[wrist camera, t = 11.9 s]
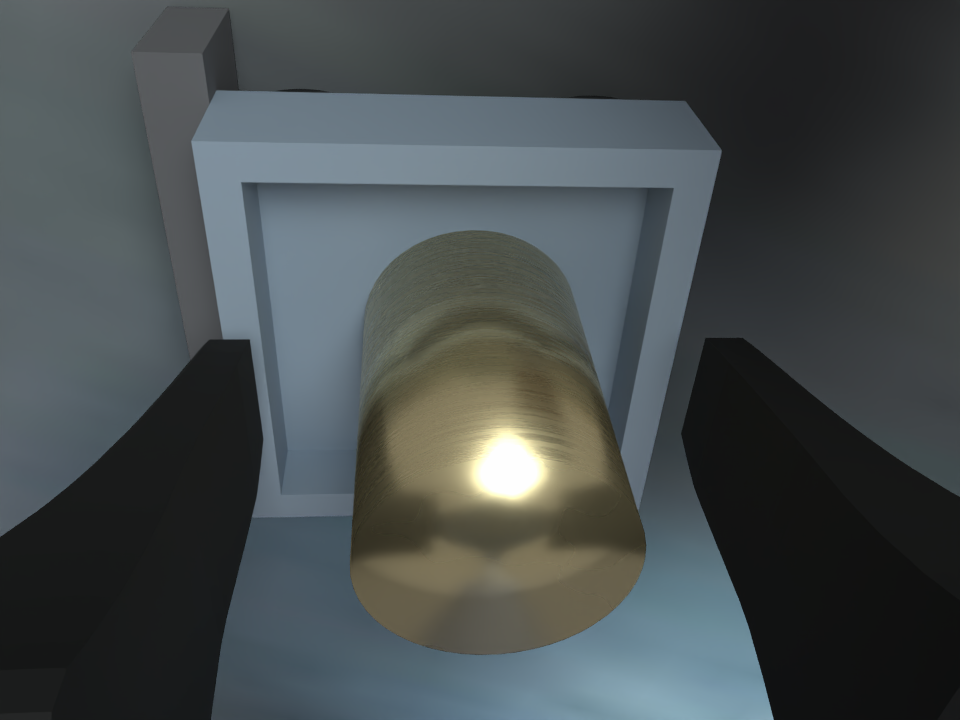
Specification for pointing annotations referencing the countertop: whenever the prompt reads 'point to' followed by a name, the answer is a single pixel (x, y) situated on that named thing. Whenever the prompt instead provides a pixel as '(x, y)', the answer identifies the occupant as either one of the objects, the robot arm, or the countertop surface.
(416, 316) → the brass cylinder
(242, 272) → the grey square tray
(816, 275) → the countertop surface
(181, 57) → the stop
